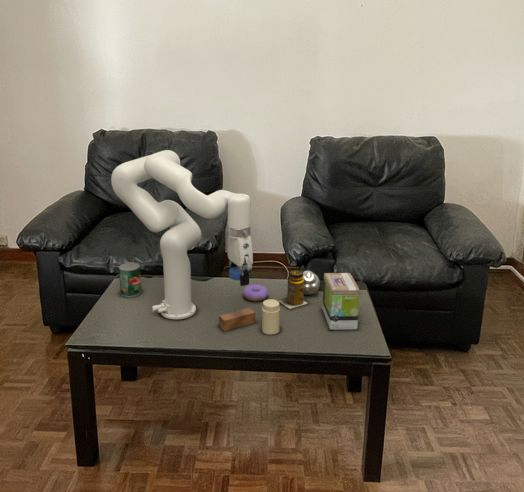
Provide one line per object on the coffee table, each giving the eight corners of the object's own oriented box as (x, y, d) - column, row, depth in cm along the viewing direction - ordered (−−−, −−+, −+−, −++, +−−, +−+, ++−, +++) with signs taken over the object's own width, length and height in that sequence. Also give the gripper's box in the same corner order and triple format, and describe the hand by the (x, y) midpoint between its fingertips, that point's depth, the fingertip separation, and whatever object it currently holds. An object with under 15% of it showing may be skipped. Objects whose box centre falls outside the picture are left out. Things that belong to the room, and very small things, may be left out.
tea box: (358, 329, 187) (360, 289, 184) (329, 330, 186) (330, 290, 183) (348, 309, 202) (350, 271, 198) (321, 309, 201) (322, 272, 197)
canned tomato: (139, 297, 210) (137, 270, 208) (118, 297, 210) (116, 270, 207) (142, 288, 218) (141, 262, 215) (122, 288, 218) (121, 262, 215)
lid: (247, 272, 189) (247, 265, 189) (250, 280, 183) (250, 273, 182) (227, 272, 188) (227, 266, 188) (230, 281, 182) (230, 274, 181)
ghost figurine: (292, 296, 211) (292, 272, 209) (302, 287, 219) (303, 263, 217) (313, 301, 207) (314, 277, 205) (323, 292, 215) (324, 268, 213)
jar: (267, 336, 182) (268, 308, 180) (258, 328, 187) (258, 301, 185) (282, 331, 185) (283, 304, 183) (273, 323, 190) (273, 297, 188)
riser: (224, 331, 185) (224, 320, 184) (219, 326, 189) (219, 315, 188) (255, 322, 191) (255, 312, 190) (249, 317, 195) (249, 307, 194)
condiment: (308, 303, 206) (309, 273, 203) (289, 309, 201) (290, 278, 198) (296, 296, 212) (297, 267, 209) (278, 301, 207) (278, 272, 204)
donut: (237, 296, 210) (238, 284, 210) (253, 293, 217) (255, 281, 217) (256, 304, 203) (258, 292, 203) (272, 301, 210) (274, 289, 210)
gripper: (262, 236, 177) (261, 288, 181) (236, 222, 191) (236, 269, 195) (241, 240, 173) (241, 293, 177) (217, 225, 187) (217, 274, 191)
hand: (239, 280), depth 186 cm, fingers closed on lid, 6 cm apart
